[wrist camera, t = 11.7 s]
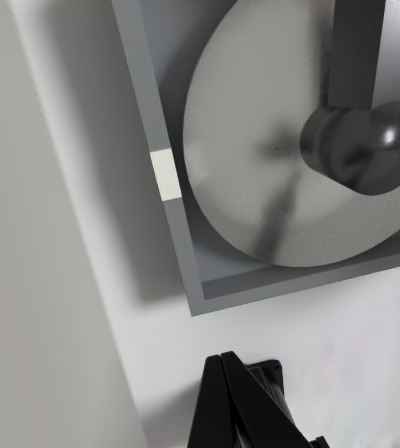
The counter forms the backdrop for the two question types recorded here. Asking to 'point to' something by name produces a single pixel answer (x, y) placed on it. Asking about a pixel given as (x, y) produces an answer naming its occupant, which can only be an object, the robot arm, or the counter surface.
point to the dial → (298, 128)
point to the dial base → (175, 169)
